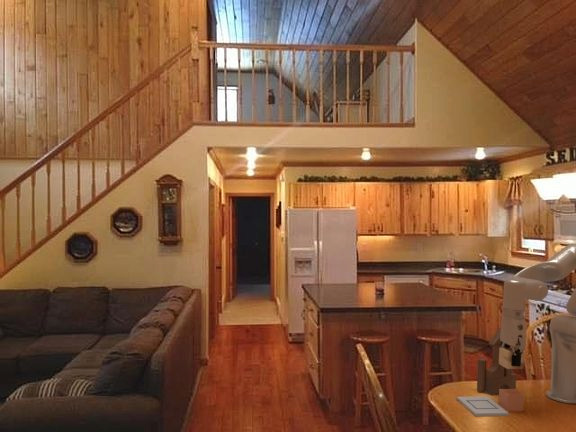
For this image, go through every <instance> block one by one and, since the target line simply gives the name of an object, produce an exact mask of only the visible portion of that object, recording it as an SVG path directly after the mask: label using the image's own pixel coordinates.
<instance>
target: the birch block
mask: <svg viewBox="0 0 576 432" xmlns="http://www.w3.org/2000/svg"><path fill="white" fill-rule="evenodd" d="M517 349H518V348H516V350H517ZM512 355H513V349H512V347H510V348H500V349H499V364H500V365H501V366H503V367H505V368H507V369H512V370H524V363H525V361H524V359H525V351H523V353H522V356H521V366H520V367H519V366H512V365H511V362H512Z"/></svg>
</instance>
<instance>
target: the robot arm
mask: <svg viewBox="0 0 576 432" xmlns="http://www.w3.org/2000/svg"><path fill="white" fill-rule="evenodd" d="M574 270H576V243H571V244H568V245H566V246H564V247H563V248H562V249H561V250H559V251H558V252H557V253H555V254H554V255H553V256H551V257H550V258H549V259H547V260H545V261H542V262H539V263H536V264H534V265H531V266H527V267H525V268H523V269H521V270H520V271H518V272H517V273H516V274H515V275H513V276H511V278H507V279H505V280H504V282H503V294H502V295H503V297H502V313H501V314H502V318H501V325H500V328H501V332H500V337H499V338H500V341H501V345H502V347H501V348H512V349H513V355H512V362H511V365H512V366H519V367H520V366H521V356H522V353H523V352H525V350H526V346H527V325H526V306H527V305H526V303H527V302H526V301H527V300H529V301H534V302H535V301H536V302H538V301H543V300H545V298H547V296H548V294H549V287H548V286H547V284H546V282H557V281H561V280H563V279H565V278H566V277H567V276H569V275H570V274H571V273H572V272H573V271H574ZM565 309H566V312H567V313H568V314H569V315H566V314H559V315H556V316H554V317H552V318H551V320H550V323H549V333H550V337H551V371H550V372H551V377H550V378H551V379H550V389H548V390H547V391H546V392H545V394H546V396H547V398H549V399H551V400H552V401H553V400H554V401H556V402H560V403H564V404H572V405H573V404H576V287H575V288H574V290H573V292H572V293H571V295H570V296H569V299H568V300H567V303H566V306H565ZM516 349H517V350H516Z"/></svg>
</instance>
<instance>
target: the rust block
mask: <svg viewBox="0 0 576 432" xmlns="http://www.w3.org/2000/svg"><path fill="white" fill-rule="evenodd" d="M524 397H525V395H524V393H521V391H519V390H517V389H502V388H500V389H499V392H498V405H499V406H500V407H502V408H503V409H504V410H506V411H507V412H524V401H525V400H524Z"/></svg>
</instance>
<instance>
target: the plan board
mask: <svg viewBox="0 0 576 432" xmlns="http://www.w3.org/2000/svg"><path fill="white" fill-rule="evenodd" d="M456 401H457V402H459V403H460V404H461V405H462V406H463V407H464V408H465V409H467V410H468V411H469V412H470V413H471V414H472V415H474V416H475V417H509V416H510V413H509V411H506V410H505V409H503V408H502V407H501V406H499V403H497V402H496V401H494V400H493V399H492V398H490V397H488V396H486V395H485V396H483V395H481V396H456Z"/></svg>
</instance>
